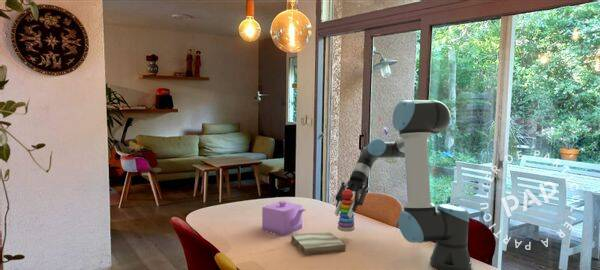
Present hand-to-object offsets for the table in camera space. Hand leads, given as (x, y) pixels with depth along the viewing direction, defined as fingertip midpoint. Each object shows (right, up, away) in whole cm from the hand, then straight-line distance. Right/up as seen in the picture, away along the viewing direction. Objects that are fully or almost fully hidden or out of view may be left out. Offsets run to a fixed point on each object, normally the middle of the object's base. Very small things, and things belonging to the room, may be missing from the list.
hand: (342, 215), depth 192 cm
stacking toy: (+2, -7, +3) cm, 9 cm away
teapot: (-27, -10, +16) cm, 33 cm away
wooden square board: (-12, -12, -6) cm, 18 cm away
